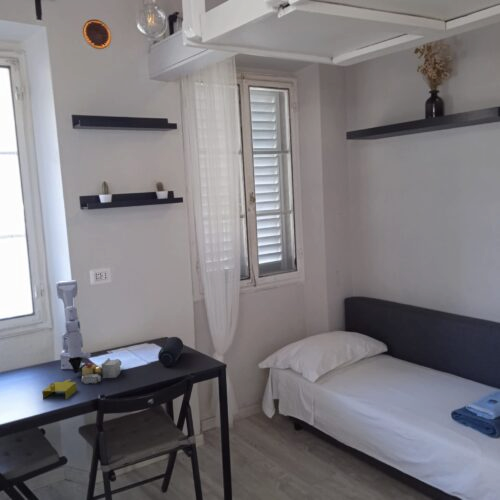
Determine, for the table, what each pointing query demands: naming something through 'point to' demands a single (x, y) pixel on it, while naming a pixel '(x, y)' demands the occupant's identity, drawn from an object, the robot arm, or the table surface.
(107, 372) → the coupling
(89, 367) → the valve
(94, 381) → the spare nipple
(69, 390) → the bracket
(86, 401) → the table surface
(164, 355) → the portable speaker
